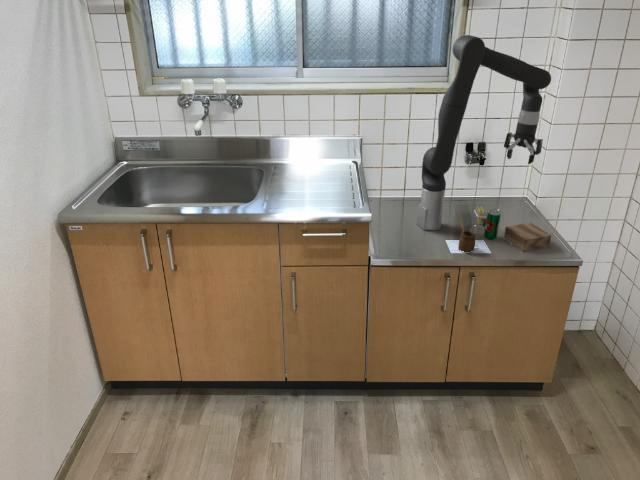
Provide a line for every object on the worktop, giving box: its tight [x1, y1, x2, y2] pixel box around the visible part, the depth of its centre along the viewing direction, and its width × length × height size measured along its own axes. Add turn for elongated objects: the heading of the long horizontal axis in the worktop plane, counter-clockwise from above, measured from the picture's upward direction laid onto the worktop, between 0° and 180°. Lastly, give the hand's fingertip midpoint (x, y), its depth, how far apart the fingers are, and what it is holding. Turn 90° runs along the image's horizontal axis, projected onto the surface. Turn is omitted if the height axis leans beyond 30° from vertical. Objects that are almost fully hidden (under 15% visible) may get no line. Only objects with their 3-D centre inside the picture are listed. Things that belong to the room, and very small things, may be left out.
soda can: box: [483, 207, 502, 241], centre depth 201 cm, size 5×5×12 cm
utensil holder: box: [458, 218, 478, 253], centre depth 192 cm, size 6×6×12 cm
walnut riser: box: [503, 222, 552, 252], centre depth 199 cm, size 12×12×5 cm
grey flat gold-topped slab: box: [473, 205, 487, 227], centre depth 215 cm, size 12×18×7 cm, turn 176°
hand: (519, 161), depth 206 cm, fingers open, 8 cm apart
